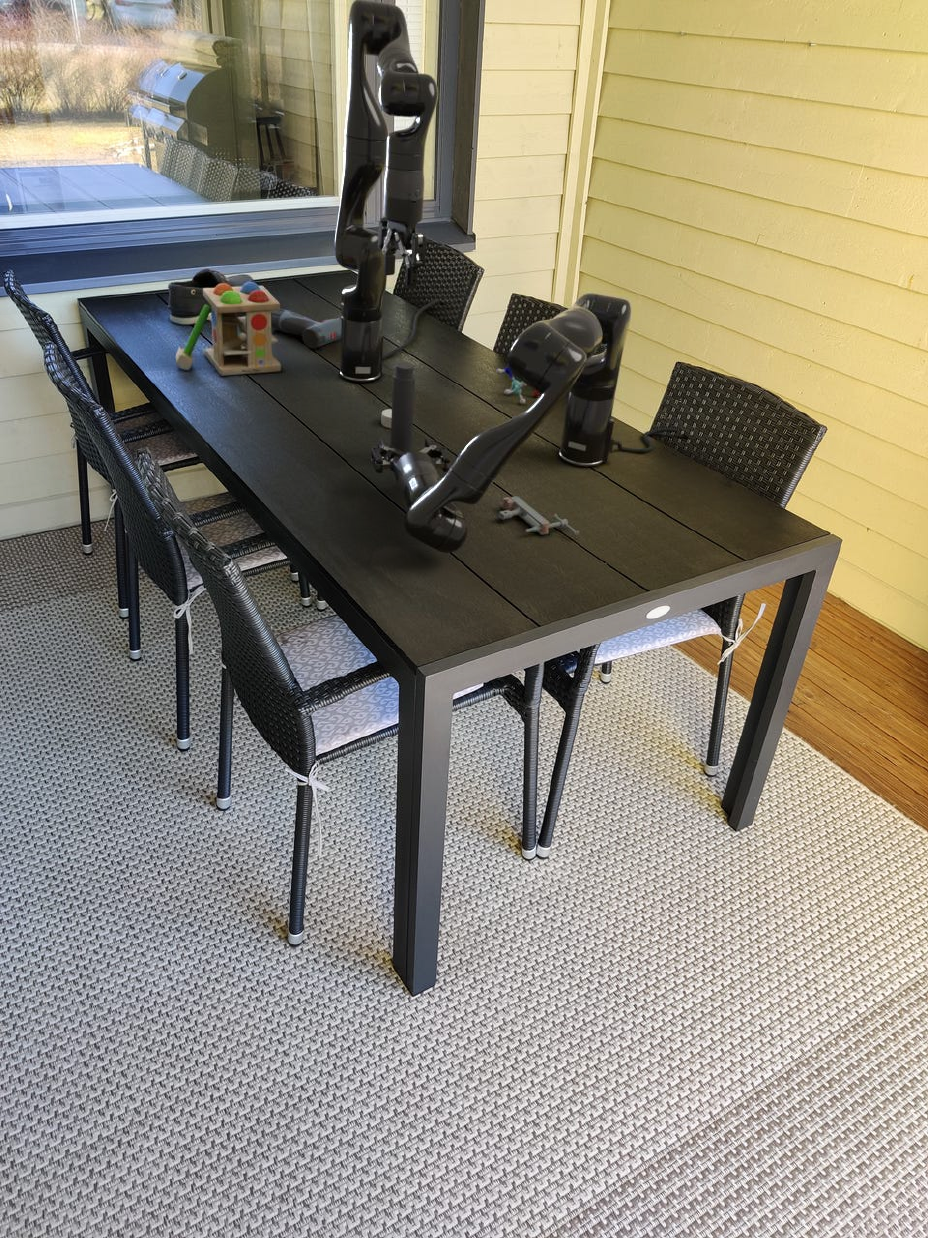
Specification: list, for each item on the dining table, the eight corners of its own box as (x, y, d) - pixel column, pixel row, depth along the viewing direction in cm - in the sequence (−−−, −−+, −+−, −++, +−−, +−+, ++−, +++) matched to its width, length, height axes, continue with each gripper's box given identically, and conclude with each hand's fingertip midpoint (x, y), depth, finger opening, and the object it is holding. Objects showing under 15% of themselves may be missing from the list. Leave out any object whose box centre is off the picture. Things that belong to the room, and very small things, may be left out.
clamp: (489, 500, 180) (534, 491, 184) (488, 510, 181) (533, 501, 185) (534, 538, 169) (581, 528, 174) (532, 549, 170) (579, 539, 175)
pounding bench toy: (183, 379, 220) (176, 299, 210) (169, 357, 231) (162, 280, 221) (282, 371, 230) (280, 294, 220) (264, 350, 240) (262, 276, 230)
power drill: (305, 316, 264) (364, 334, 256) (257, 332, 251) (318, 351, 243) (305, 296, 261) (365, 314, 253) (257, 311, 248) (318, 330, 240)
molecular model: (542, 396, 221) (528, 352, 219) (504, 410, 224) (490, 367, 223) (554, 394, 231) (541, 353, 230) (517, 407, 235) (504, 367, 233)
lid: (400, 429, 208) (401, 419, 207) (378, 426, 209) (378, 415, 207) (406, 421, 212) (406, 410, 211) (384, 417, 213) (384, 407, 211)
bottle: (387, 456, 197) (391, 361, 186) (408, 455, 198) (413, 361, 187) (391, 465, 194) (396, 369, 183) (412, 464, 195) (418, 369, 184)
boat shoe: (275, 303, 273) (273, 264, 267) (188, 326, 249) (184, 284, 244) (241, 294, 279) (238, 256, 273) (152, 317, 255) (147, 276, 249)
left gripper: (368, 185, 187) (365, 272, 196) (405, 202, 178) (401, 292, 187) (402, 184, 191) (398, 269, 200) (440, 200, 182) (434, 289, 191)
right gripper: (459, 460, 174) (442, 424, 187) (380, 461, 171) (368, 424, 184) (456, 498, 178) (439, 460, 191) (378, 500, 175) (366, 461, 188)
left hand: (399, 280), depth 194 cm, fingers open, 8 cm apart
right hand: (404, 442), depth 187 cm, fingers open, 8 cm apart
